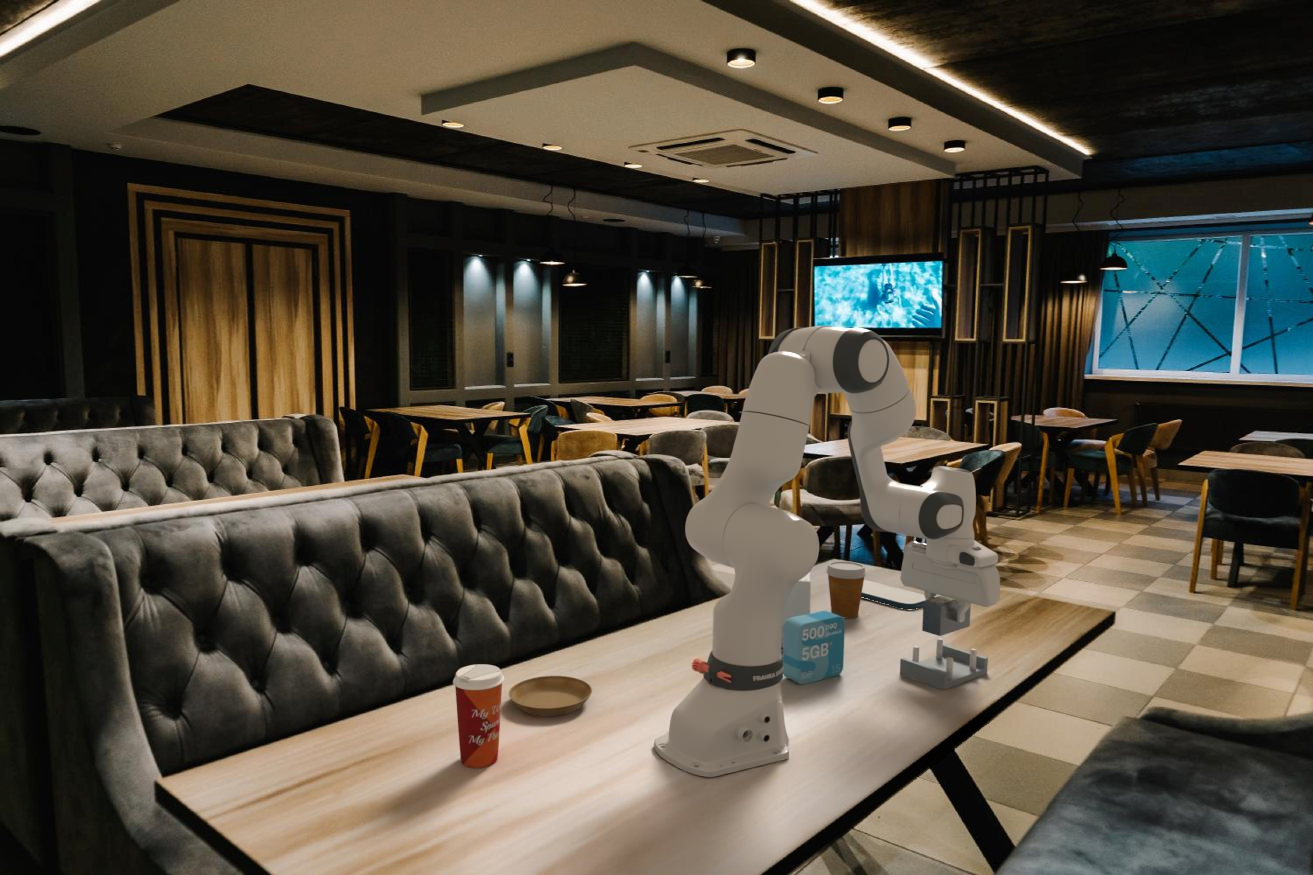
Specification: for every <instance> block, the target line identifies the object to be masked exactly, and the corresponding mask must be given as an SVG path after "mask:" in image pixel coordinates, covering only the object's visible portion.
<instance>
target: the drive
mask: <svg viewBox="0 0 1313 875" xmlns="http://www.w3.org/2000/svg"><path fill="white" fill-rule="evenodd" d="M934 597H935V598H932V599H928V600H925V601H923V607H922V626H921V627H922V628H921V631H922V632H925V633H928V634H931V635H935V636H937V637H943V636H944V635H947V634H951V633H953V632H957V631H960V630H963V629H966V628H968V627H970V625H971V609H972V608H971V606H972V605H971V606H970V607H969V608H968V610H967V611H966V613H965V620H964V622H961V623H960V622H956V621H954V620H953V617H954V616H953V612H957V611H958V610H959V609H960V607H961V606H960V605H959V600H957V599H953V598H949V597H946V596H942V595H938V596H934Z"/></svg>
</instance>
